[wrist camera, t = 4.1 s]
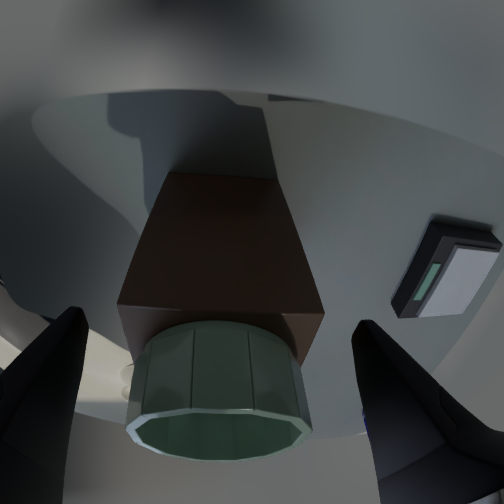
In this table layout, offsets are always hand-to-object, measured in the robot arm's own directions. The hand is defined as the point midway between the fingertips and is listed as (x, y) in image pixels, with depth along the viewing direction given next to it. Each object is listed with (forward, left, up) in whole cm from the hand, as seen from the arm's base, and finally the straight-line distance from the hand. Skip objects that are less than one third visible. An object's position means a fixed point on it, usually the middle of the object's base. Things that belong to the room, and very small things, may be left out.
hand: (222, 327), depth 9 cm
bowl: (+4, 0, -1) cm, 4 cm away
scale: (+7, +23, -13) cm, 27 cm away
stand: (+4, 0, -13) cm, 14 cm away
